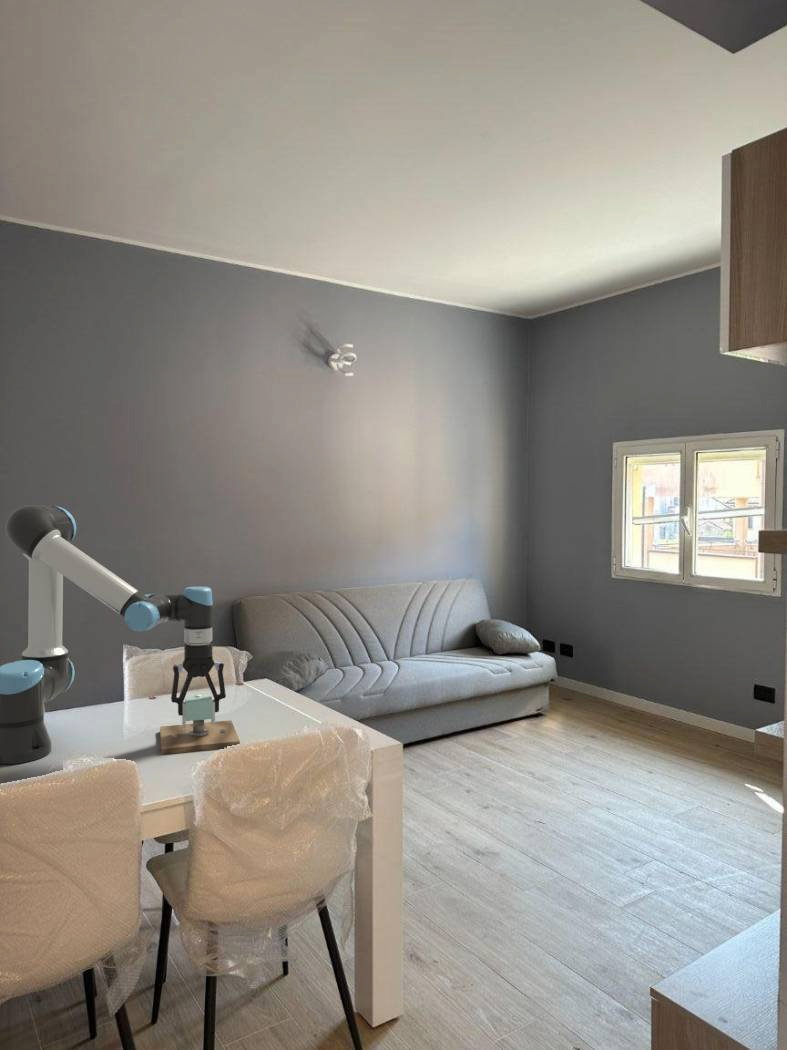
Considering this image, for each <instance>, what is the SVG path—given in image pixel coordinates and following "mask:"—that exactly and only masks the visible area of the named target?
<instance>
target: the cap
mask: <svg viewBox="0 0 787 1050" xmlns="http://www.w3.org/2000/svg"><path fill="white" fill-rule="evenodd" d="M212 700H213V697H212V693H211V694H195V695H186V696H185V698H184V702H185V704H186V722H190V721H192V722H193V720H204V721H205V720H211V719H212Z"/></svg>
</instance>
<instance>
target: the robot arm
mask: <svg viewBox="0 0 787 1050" xmlns="http://www.w3.org/2000/svg"><path fill="white" fill-rule="evenodd" d="M76 533H77V524H76V520H75V518H74V516H73V515H72V514H71V513H70V512H69V511H68V510H67V509H65V508H63V507H60V506H57V505H50V504H47V505H45V504H44V505H34V504H33V505H32V504H31V505H24V506H20V507H18V508H17V509H14V510H13V511H12V512H11V513H10V514H9V515H8V517H7V519H6V522H5V534H6V537H7V539H8V541H9V542H10V544H12V545H13V546H14V547H15V548H16V549H17V550H19V551H20V552H22V555H23V556H24V557H25V559H27V560H28V622H27V624H28V630H27V633H28V634H27V635H28V636H27V637H28V640H27V641H28V643H27V648H26V649H25V650H23V651H22V652H21V660H16V661H13V662H7V663H4V664H3V665H1V666H0V765H13V764H16V765H17V764H22V763H28V762H32V761H36V760H39V759H41V758H42V759H43V758H44V757H46V756H48V755H49V754H50V753H51V752H52V741H51V738H50V734H49V733H48V730H47V727H46V724H45V719H44V718H45V717H44V715H45V714H44V713H45V712H44V711H45V708H44V707H45V706H44V705H45V704H46V703H48V702H50V701H51V700H53V699H57V698H58V697H60V696H61V695H63V694H64V693H65V692H66V691H67V690H69V688H70V687H71V686H72V684H73V681H74V678H75V675H76V674H75V666H74V664H73V662H72V661H71V660H70V659H69V650H68V649H67V648H66V647H65V646H64V645H63V624H64V623H63V619H64V618H63V617H64V616H63V612H64V610H63V605H64V603H63V601H64V577H65V578H66V579H68V580H69V581H71V582H72V583H73V584H75V585H77V586H78V587H79V588H80V589H82V590H83V591H85V592H86V593H87V594H90V595H91V596H92V597H94V598H95V599H97V600H98V601H99V602H101V603H103V604H104V605H105V606H107V607H108V608H110V609H111V610H112V611H114V612H115V613H116V614H118V615H120V616H121V617H122V618H124V622H125V625H126V626H127V627H128V628H129V629H130V630H132V631H135V632H144V631H145V632H146V631H149V630H151V629H154V627H156V626H158V625H161V624H163V623H166V622H183V623H184V624H183V625H184V626H183V627H184V629H183V630H184V634H183V635H184V636H183V637H184V638H183V640H184V643H185V644H184V645H183V647H184V648H183V649H184V650H183V652H184V655H183V656H184V659H183V661H182V663H180V664H173V666H172V669H173V680H172V682H173V683H172V687H171V688H172V689H171V697H170V699H171V702H172V703H175V704H177V714H178V716H181V719H182V721H181V725H182V726H183V728H186V724H187V721H186V704H185V696H187V692H188V690H189V688H190V685H191V682H192V680H193V679H194V678H197V677H201V678H204V677H205V680H206V681H207V684H208V685H207V686H208V687H209V689H210V692H211V695H212V696H213V697H212V698H213V699H212V719H210V720H211V721H210V722H211V723H212V725H215V722H216V713H219V712H220V701H221V700H222V699H225V698H226V697H227V694H226V688H225V681H224V674H223V671H224V666H225V664H224V662H222V661H215V660H214V659H213V658H214V657H213V643H212V641H213V605H214V603H213V593H212V588H211V587H208V586H198V585H197V586H187V587H185V588H184V590H183V593H181V594H177V593H175V594H173V593H172V594H171V593H167V594H166V593H164V594H163V593H148V594H143V593H142V592H141V591H140V590H138V589H136V588H135V587H133V585H130V583H128V582H126V581H125V580H123V579H122V578H121V577H119V576H118V575H116V574H115V573H114V572H112V571H111V570H109V569H108V568H106V567H105V566H104V565H102V564H100V563H99V562H98V561H97V560H95V559H94V558H92V557H91V556H89V555H87V554H86V553H85V552H83V551H82V550H80V549H79V548H77V547H76V546H75V545H73V544H72V543H71V542H72V541H73V539H74V538H75V536H76ZM213 667H215V670H216V671H217V679H218V680H217V681H218V686H219V693H217V690H216V687H215V685H214V682H213V679H212V678H211V676H210V672H211V670H212V669H213ZM183 669H184V670H185V671H186V672H187V674H186V678H185V680H184V682H183V685H182V688H181V691H180V693H179V696H178V695H177V694H178V689H179V679H180V673H182V671H183ZM177 696H178V697H177Z"/></svg>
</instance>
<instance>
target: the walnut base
mask: <svg viewBox="0 0 787 1050" xmlns="http://www.w3.org/2000/svg"><path fill="white" fill-rule="evenodd" d="M159 733H160V734H159V735H160V736H159V737H160V748H161V749H160V751H161V755H169V754H170V755H171V754H181V753H191V752H199V751H209V750H212V751H213V750H219V749H220V748H222V749H225V748H224V747H227V746H232V745H237V744H240V743H241V740H240V739H239V735H238V734H237V731H236V729H235V725H234V724H233V721H232V719H229V720H220V721H219V720H218V721H215V725H212V723H211V721H210V722H209V721H208V722H206V721H205V720H193V721H192V723H186V728H183V726H182V724H174V725H164V726H162V725H161V726H159ZM240 745H241V744H240ZM220 750H221V749H220Z"/></svg>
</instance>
